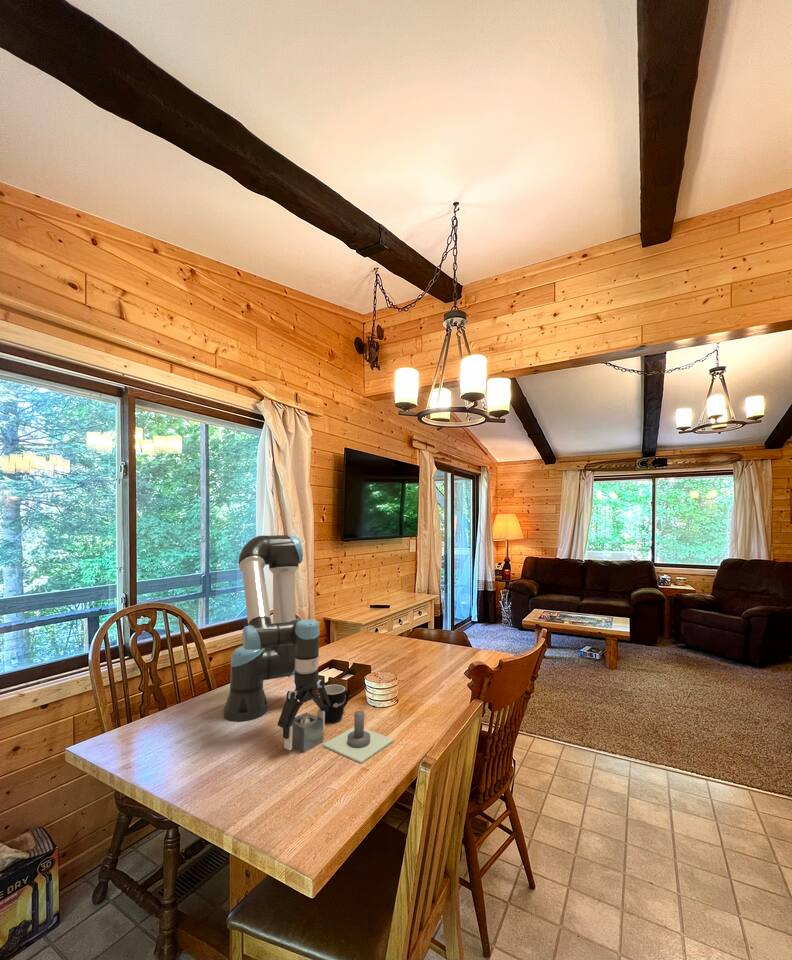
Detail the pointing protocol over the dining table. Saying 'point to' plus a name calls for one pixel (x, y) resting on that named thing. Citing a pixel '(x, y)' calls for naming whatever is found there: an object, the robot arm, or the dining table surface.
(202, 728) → the dining table surface
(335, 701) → the mug
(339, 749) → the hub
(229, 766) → the dining table surface
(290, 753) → the dining table surface
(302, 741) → the collar
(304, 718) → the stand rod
